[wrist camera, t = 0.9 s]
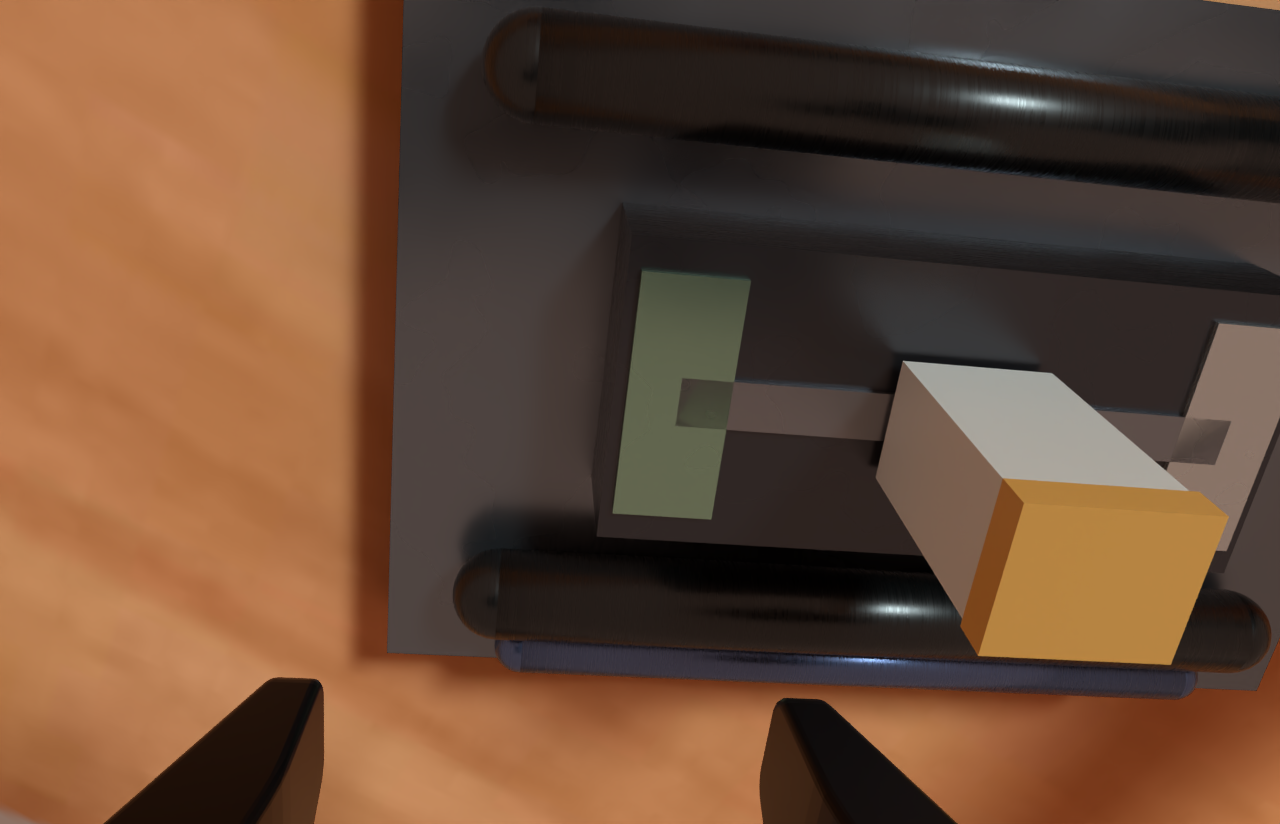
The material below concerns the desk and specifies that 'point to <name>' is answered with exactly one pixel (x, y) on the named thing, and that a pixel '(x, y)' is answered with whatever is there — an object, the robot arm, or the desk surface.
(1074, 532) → the lever
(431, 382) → the panel
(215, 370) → the desk surface
